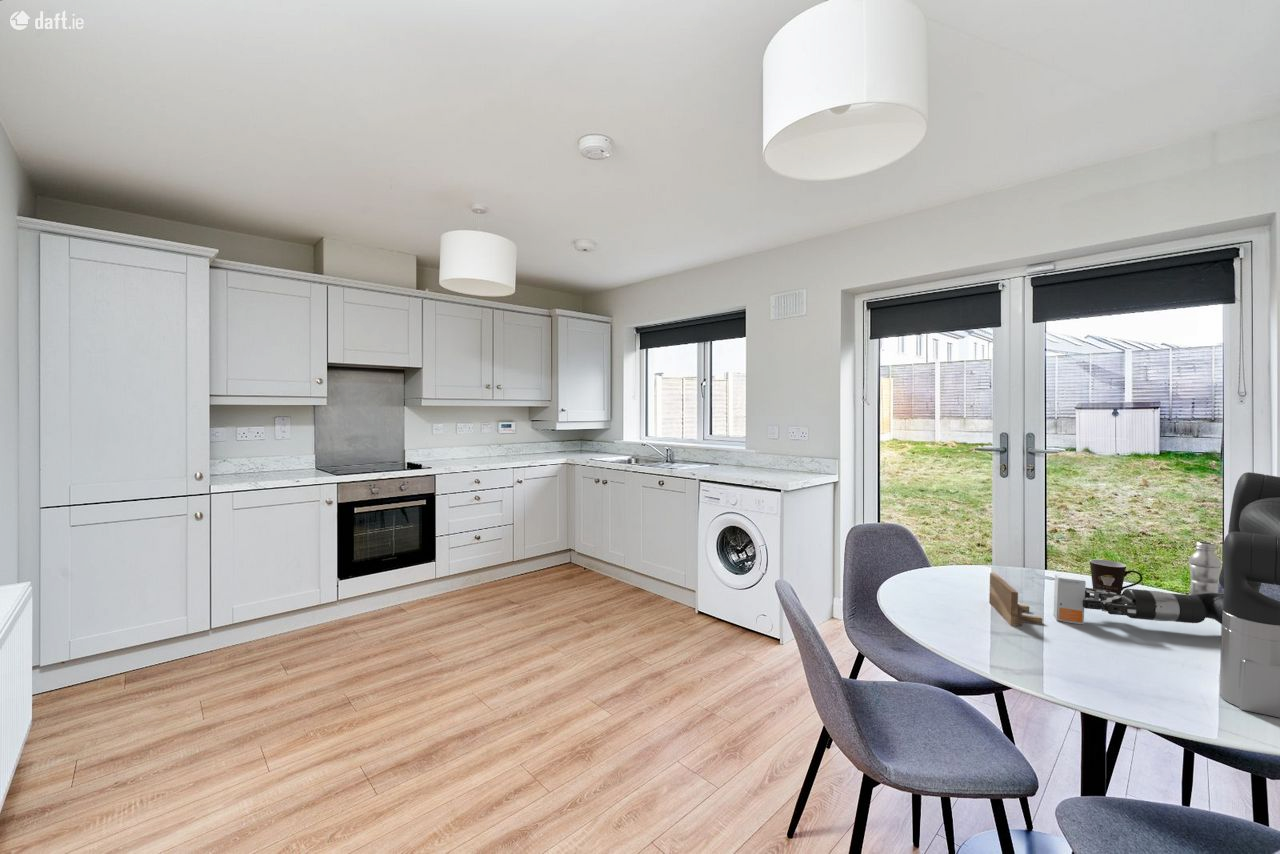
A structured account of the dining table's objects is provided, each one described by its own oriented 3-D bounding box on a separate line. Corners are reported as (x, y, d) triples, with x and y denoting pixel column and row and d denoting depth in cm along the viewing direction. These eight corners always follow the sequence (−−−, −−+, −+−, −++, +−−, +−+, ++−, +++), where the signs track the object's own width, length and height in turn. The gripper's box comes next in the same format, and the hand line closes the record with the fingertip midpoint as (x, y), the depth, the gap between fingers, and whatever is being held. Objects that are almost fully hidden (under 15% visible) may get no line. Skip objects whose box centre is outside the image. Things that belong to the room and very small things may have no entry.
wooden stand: (1022, 605, 159) (1023, 575, 158) (1048, 629, 141) (1049, 595, 141) (989, 602, 161) (990, 572, 161) (1010, 625, 144) (1011, 591, 144)
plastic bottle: (1227, 618, 150) (1230, 546, 149) (1198, 616, 151) (1200, 545, 151) (1208, 609, 156) (1210, 540, 155) (1180, 608, 157) (1182, 539, 157)
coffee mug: (1082, 592, 171) (1083, 561, 170) (1097, 588, 174) (1098, 558, 174) (1128, 604, 160) (1129, 571, 160) (1143, 600, 164) (1144, 567, 163)
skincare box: (1056, 621, 147) (1057, 577, 147) (1053, 615, 151) (1054, 573, 151) (1084, 625, 144) (1086, 580, 144) (1080, 619, 148) (1081, 576, 148)
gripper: (1134, 582, 149) (1064, 577, 154) (1167, 600, 135) (1088, 593, 140) (1134, 609, 149) (1063, 603, 154) (1166, 629, 135) (1088, 621, 140)
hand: (1075, 598), depth 147 cm, fingers open, 8 cm apart
